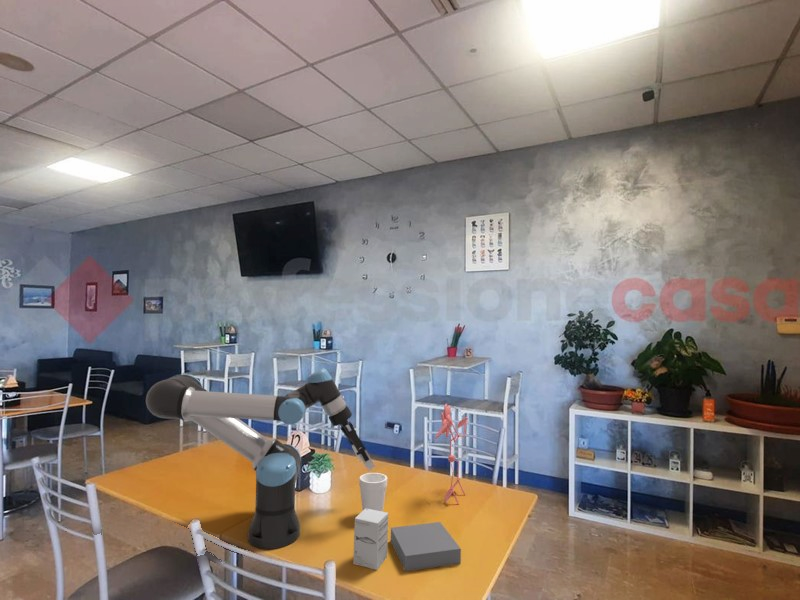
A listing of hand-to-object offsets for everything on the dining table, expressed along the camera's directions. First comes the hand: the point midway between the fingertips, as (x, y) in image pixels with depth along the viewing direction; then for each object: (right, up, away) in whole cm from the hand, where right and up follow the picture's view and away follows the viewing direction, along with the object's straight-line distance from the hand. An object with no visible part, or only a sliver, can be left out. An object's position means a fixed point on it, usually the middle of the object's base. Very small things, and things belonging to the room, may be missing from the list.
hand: (367, 463), depth 150 cm
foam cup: (+2, -17, -3) cm, 17 cm away
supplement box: (+3, -16, -30) cm, 34 cm away
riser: (+18, -16, -24) cm, 35 cm away
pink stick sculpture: (+28, -18, +15) cm, 36 cm away
